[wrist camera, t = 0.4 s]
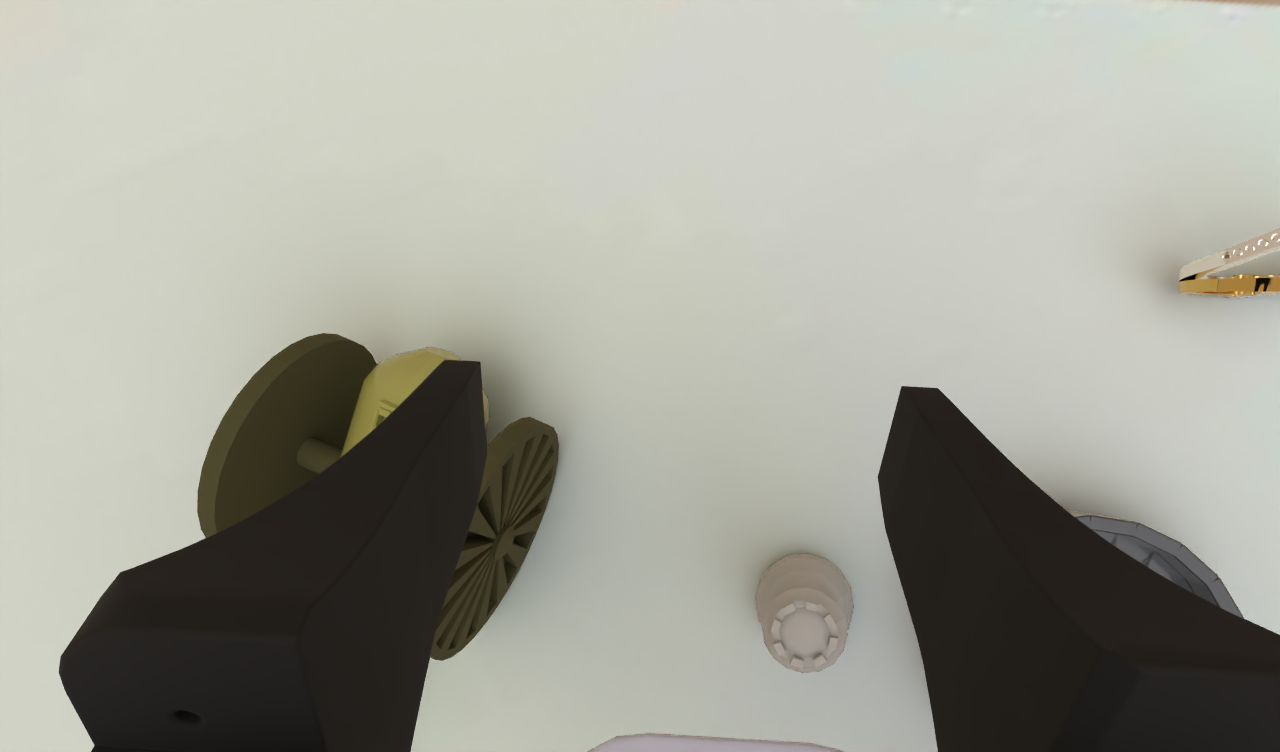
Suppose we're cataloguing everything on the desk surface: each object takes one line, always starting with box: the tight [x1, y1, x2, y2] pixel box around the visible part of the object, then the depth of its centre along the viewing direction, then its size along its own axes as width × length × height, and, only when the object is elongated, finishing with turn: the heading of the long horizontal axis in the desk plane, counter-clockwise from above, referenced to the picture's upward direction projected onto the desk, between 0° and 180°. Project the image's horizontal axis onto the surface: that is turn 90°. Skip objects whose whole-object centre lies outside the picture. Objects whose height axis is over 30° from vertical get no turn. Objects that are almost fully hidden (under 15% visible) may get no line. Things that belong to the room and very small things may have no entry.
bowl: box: [1065, 509, 1244, 619], centre depth 37 cm, size 11×11×4 cm
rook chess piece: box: [756, 554, 854, 673], centre depth 38 cm, size 4×4×8 cm
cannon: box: [197, 333, 559, 661], centre depth 40 cm, size 25×12×11 cm, turn 157°
